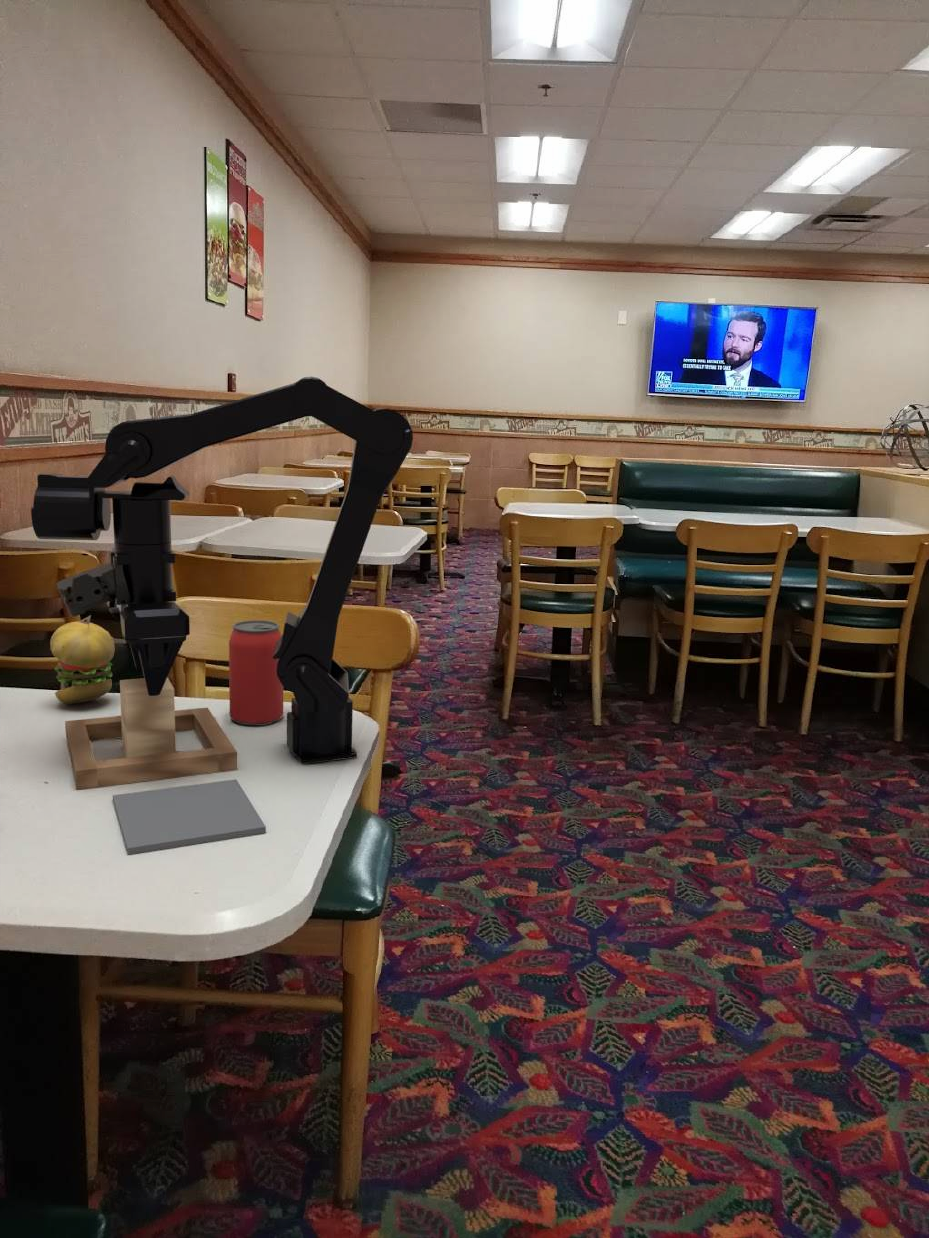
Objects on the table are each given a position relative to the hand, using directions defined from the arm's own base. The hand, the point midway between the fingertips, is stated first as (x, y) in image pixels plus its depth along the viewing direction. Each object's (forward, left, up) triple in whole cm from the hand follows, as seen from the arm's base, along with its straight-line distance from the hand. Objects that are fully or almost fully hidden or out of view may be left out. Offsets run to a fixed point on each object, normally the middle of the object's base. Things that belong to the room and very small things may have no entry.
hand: (147, 683), depth 101 cm
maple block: (0, 0, -8) cm, 8 cm away
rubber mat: (-1, +18, -8) cm, 20 cm away
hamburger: (+5, -20, -8) cm, 22 cm away
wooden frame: (0, 0, -8) cm, 8 cm away
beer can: (-14, -8, -8) cm, 18 cm away
